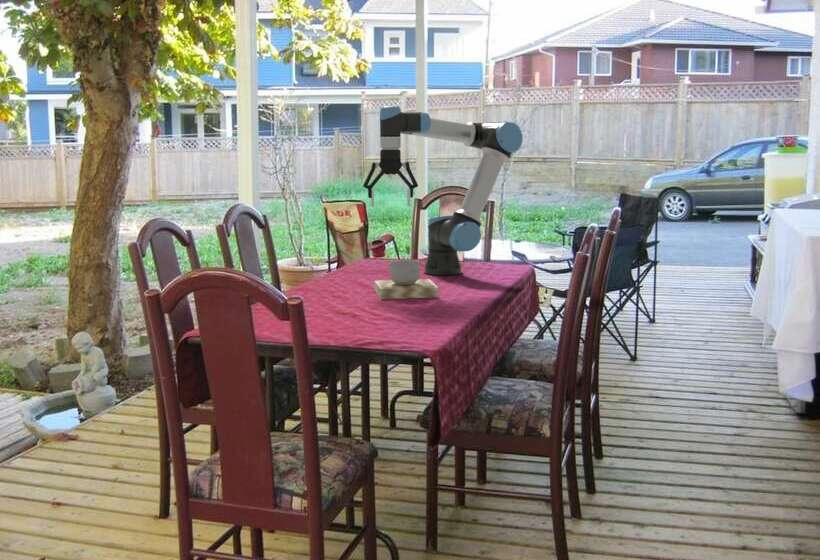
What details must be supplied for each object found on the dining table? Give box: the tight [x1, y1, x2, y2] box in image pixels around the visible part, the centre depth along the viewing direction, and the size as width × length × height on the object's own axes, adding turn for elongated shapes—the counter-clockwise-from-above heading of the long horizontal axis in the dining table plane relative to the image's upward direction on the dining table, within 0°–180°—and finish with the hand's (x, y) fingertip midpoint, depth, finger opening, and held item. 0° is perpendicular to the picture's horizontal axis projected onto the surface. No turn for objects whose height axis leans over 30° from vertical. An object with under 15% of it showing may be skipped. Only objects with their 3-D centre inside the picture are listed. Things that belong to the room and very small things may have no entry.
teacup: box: [388, 259, 421, 285], centre depth 308 cm, size 14×11×8 cm
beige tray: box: [374, 278, 439, 300], centre depth 309 cm, size 20×18×4 cm
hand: (390, 206), depth 328 cm, fingers open, 13 cm apart
